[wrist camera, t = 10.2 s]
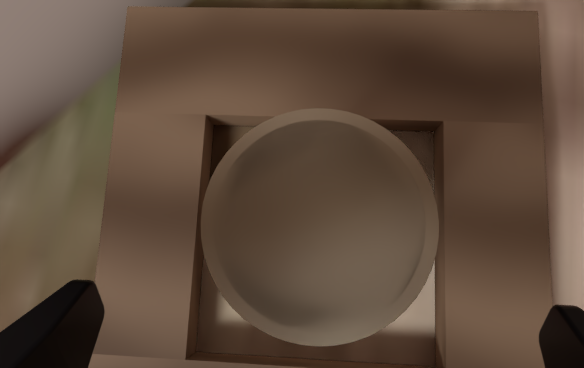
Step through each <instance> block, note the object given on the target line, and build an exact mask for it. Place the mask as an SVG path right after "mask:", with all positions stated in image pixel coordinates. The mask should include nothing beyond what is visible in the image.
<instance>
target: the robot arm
mask: <svg viewBox="0 0 584 368" xmlns="http://www.w3.org/2000/svg"><path fill="white" fill-rule="evenodd" d="M104 314H105V309H104V304H103V302H102V299H101V296H100V294H99V291H98V289H97V286H96V284H95V283H94V282H93V281H91V280H72V281H70V282H68V283H67V284H66V285H64V286H63V287H61V288H60V289H59V290H57V291H56V292H55V293H53V294H52V295H51V296H49V297H48V298H46V299H45V300H44V301H42V302H41V303H40V304H38V305H37V306H36V307H34V308H33V309H31V310H30V311H29V312H27V313H26V314H25V315H23V316H22V317H21V318H19V319H18V320H16V321H15V322H14V323H12V324H11V325H10V326H8V327H7V328H6V329H4V330H3V331H1V332H0V368H88V366H89V363H90V360H91V357H92V354H93V351H94V347H95V344H96V341H97V338H98V335H99V332H100V328H101V325H102V322H103V319H104ZM539 345H540V349H541V353H542V357H543V361H544V365H545V368H584V311H583V310H582V309H581V308H579V307H577V306H571V305H554V306H553V307H551V309H550V311H549V313H548V315H547V317H546V319H545V321H544V323H543V325H542V327H541V329H540V332H539Z"/></svg>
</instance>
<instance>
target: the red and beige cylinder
mask: <svg viewBox="0 0 584 368" xmlns="http://www.w3.org/2000/svg"><path fill="white" fill-rule="evenodd" d="M438 238H439V219H438V211H437V204H436V200H435V197H434V193H433V190H432V187H431V185H430V182H429V180H428V177H427V175H426V173H425V172H424V170H423V168H422V166H421V164H420V163H419V161H418V160H417V159H416V157H415V156H414V155H413V153H412V152H411V151H410V150H409V149H408V147H407V146H406V145H405V144H404V143H403V142H402V141H401V140H400V139H399V138H397V137H396V136H395V135H394V134H392V133H391V132H390V131H389V130H387V129H385V128H384V127H382V126H381V125H379V124H377V123H376V122H374V121H371V120H369V119H367V118H365V117H363V116H360V115H357V114H353V113H350V112H347V111H341V110H335V109H323V108H314V109H302V110H297V111H292V112H288V113H285V114H282V115H279V116H276V117H273V118H271V119H269V120H267V121H265V122H263V123H261V124H259V125H258V126H256V127H255V128H253V129H252V130H250V131H248V132H247V133H246V134H245V135H244V136H242V137H241V138H240V139H239V140H238V141H237V142H236V143H235V144H234V145H233V146H232V147H231V148H230V149H229V150H228V151H227V153H226V154H225V155H224V157H223V158H222V160H221V161H220V163H219V164H218V166H217V168H216V169H215V171H214V173H213V175H212V177H211V179H210V182H209V185H208V187H207V190H206V193H205V197H204V201H203V206H202V214H201V241H202V247H203V253H204V256H205V260H206V263H207V267H208V269H209V272H210V274H211V276H212V278H213V281H214V283H215V284H216V286H217V288H218V289H219V291H220V292H221V294H222V296H223V297H224V298H225V299H226V301H227V302H228V303H229V304H230V306H231V307H232V308H233V309H234V310H235V311H236V312H237V313H238V314H239V315H240V316H241V317H242V318H244V319H245V320H246V321H248V322H249V323H250V324H252V325H253V326H254V327H256V328H257V329H259V330H261V331H263V332H265V333H267V334H269V335H270V336H273V337H275V338H278V339H281V340H284V341H286V342H291V343H295V344H299V345H307V346H336V345H341V344H346V343H351V342H354V341H357V340H360V339H363V338H366V337H368V336H370V335H372V334H374V333H376V332H378V331H380V330H382V329H383V328H385V327H386V326H387V325H389V324H390V323H392V322H393V321H395V320H396V319H397V318H398V317H399V316H400V315H401V314H402V313H403V312H404V311H406V310H407V308H408V307H409V306H410V305H411V304H412V302H413V301H414V300H415V299H416V298H417V296H418V294H419V293H420V291H421V290H422V288H423V286H424V285H425V283H426V281H427V278H428V276H429V274H430V272H431V269H432V266H433V263H434V259H435V256H436V252H437V245H438Z"/></svg>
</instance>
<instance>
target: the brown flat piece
mask: <svg viewBox="0 0 584 368" xmlns="http://www.w3.org/2000/svg"><path fill="white" fill-rule="evenodd" d="M314 108H323V109H335V110H341V111H347V112H350V113H353V114H357V115H360V116H363V117H365V118H367V119H369V120H371V121H374V122H376V123H377V124H379V125H381V126H382V127H384V128H385V129H387V130H401V131H434V197H435V200H436V204H437V211H438V219H439V238H438V245H437V252H436V256H435V351H436V367H428V366H412V365H396V364H380V363H364V362H348V361H332V360H316V359H301V358H285V357H269V356H253V355H237V354H221V353H205V352H196V342H197V329H198V317H199V304H200V292H201V279H202V267H203V254H204V253H203V247H202V241H201V214H202V206H203V201H204V197H205V193H206V190H207V187H208V185H209V179H210V167H211V154H212V141H213V129H214V125H227V126H258V125H259V124H261V123H263V122H265V121H267V120H269V119H271V118H273V117H276V116H279V115H282V114H285V113H288V112H292V111H297V110H302V109H314ZM95 284H96V286H97V289H98V291H99V294H100V296H101V299H102V302H103V304H104V309H105V314H104V319H103V322H102V325H101V328H100V332H99V335H98V338H97V341H96V344H95V347H94V351H93V354H92V357H91V360H90V363H89V366H88V368H545V365H544V361H543V357H542V353H541V349H540V345H539V332H540V329H541V327H542V325H543V323H544V321H545V319H546V317H547V315H548V313H549V311H550V309H551V307H552V288H551V268H550V247H549V227H548V207H547V187H546V166H545V146H544V126H543V106H542V85H541V65H540V45H539V25H538V11H482V10H393V9H304V8H215V7H128V8H127V16H126V25H125V33H124V41H123V50H122V58H121V67H120V75H119V83H118V92H117V100H116V108H115V117H114V125H113V134H112V142H111V150H110V159H109V167H108V176H107V184H106V192H105V201H104V209H103V218H102V226H101V234H100V243H99V251H98V259H97V268H96V276H95Z"/></svg>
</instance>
